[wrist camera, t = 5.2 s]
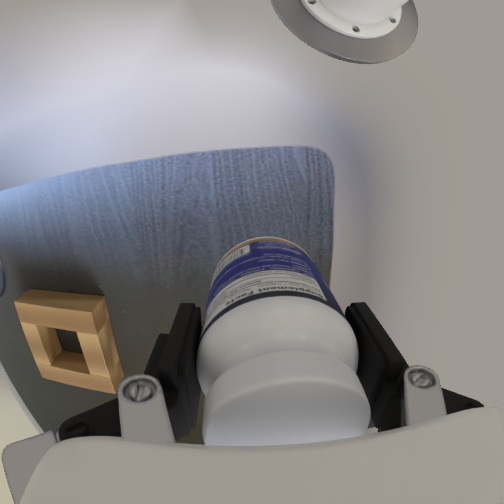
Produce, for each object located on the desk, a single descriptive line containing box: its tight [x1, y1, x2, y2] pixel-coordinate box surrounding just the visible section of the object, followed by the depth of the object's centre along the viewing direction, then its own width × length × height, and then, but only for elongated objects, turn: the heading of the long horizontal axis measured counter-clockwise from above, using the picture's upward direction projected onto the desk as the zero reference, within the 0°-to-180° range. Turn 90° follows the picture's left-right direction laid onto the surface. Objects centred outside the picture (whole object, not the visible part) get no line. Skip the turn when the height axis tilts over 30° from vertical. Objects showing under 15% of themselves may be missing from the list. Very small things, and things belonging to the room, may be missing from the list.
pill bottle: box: [196, 237, 371, 446], centre depth 11 cm, size 6×6×10 cm
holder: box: [14, 289, 124, 394], centre depth 32 cm, size 13×13×4 cm
